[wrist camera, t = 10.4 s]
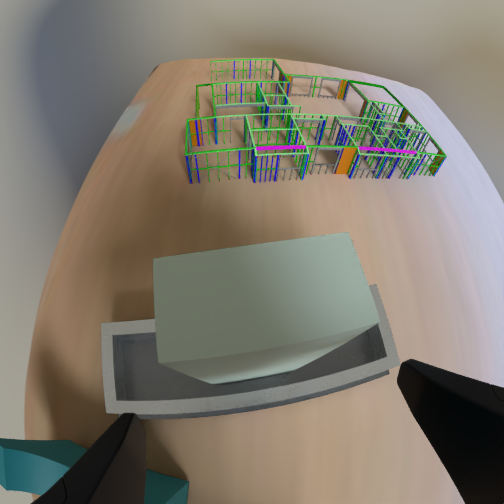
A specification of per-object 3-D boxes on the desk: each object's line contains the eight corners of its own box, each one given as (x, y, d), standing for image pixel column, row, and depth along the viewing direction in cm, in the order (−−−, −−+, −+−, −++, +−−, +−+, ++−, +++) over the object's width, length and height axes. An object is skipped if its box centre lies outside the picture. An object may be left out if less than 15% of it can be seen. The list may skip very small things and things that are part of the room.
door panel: (284, 334, 20) (348, 232, 8) (292, 371, 19) (380, 321, 7) (207, 346, 20) (153, 258, 8) (213, 384, 18) (158, 363, 6)
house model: (190, 191, 29) (184, 159, 25) (193, 84, 44) (191, 63, 40) (435, 182, 33) (449, 160, 29) (359, 86, 48) (364, 69, 43)
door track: (359, 292, 24) (374, 278, 21) (382, 375, 20) (401, 370, 17) (117, 327, 21) (101, 316, 18) (124, 417, 17) (107, 419, 14)
